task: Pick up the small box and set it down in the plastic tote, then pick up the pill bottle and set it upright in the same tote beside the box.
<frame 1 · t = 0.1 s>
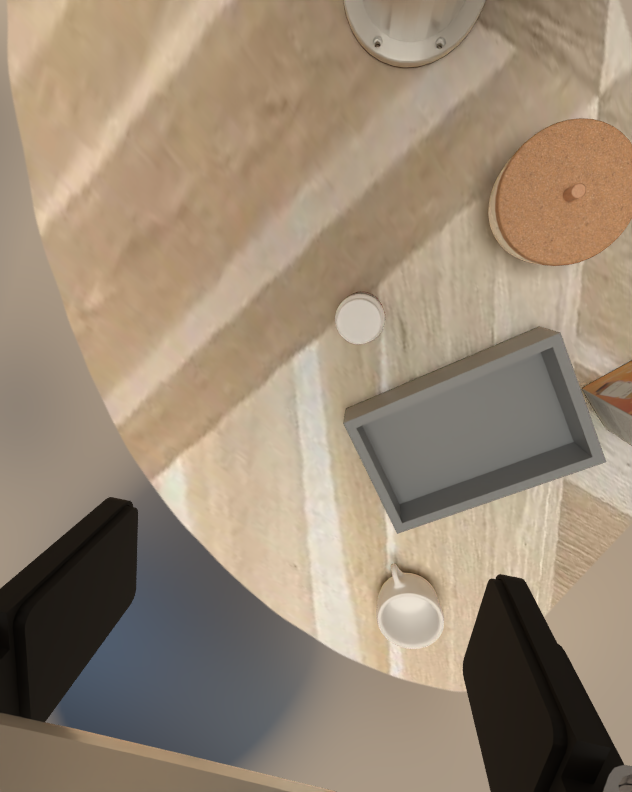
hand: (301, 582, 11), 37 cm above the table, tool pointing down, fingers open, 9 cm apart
teacup: (403, 580, 54), on the table
tote: (461, 425, 47), on the table
small box: (627, 388, 45), on the table
lidded jar: (531, 209, 41), on the table
pill bottle: (361, 313, 46), on the table
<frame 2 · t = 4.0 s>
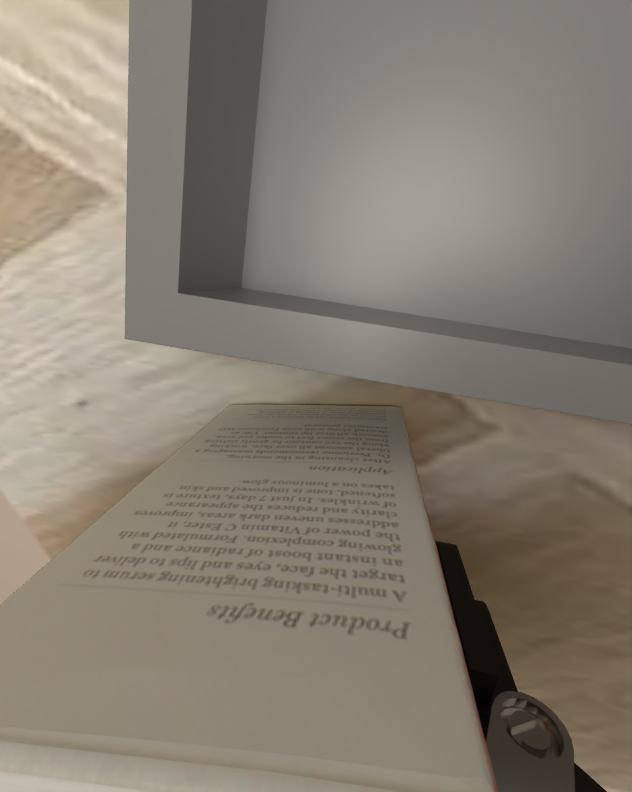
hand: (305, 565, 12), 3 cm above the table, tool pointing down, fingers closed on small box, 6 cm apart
small box: (317, 510, 14), on the table, touching gripper
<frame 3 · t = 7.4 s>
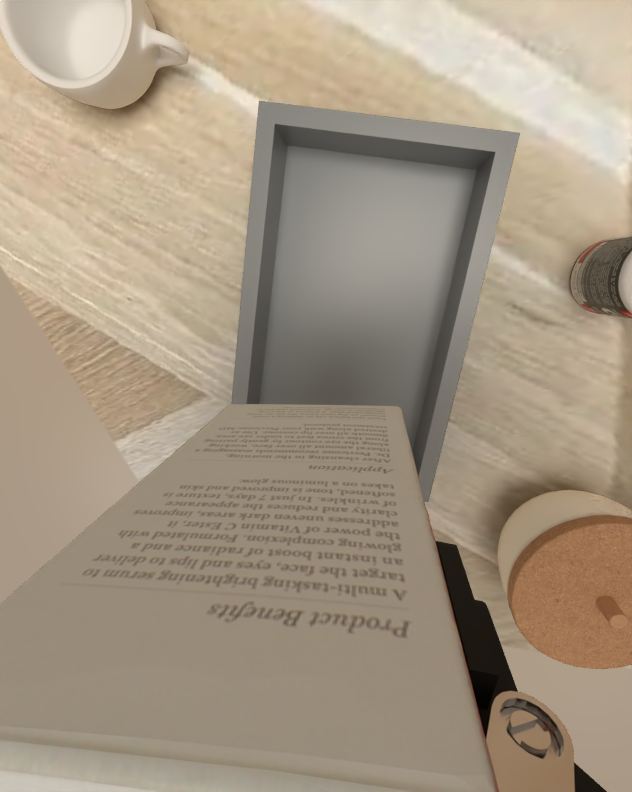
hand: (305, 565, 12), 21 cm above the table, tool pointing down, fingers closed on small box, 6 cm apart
teacup: (135, 62, 28), on the table
tote: (354, 314, 31), on the table
small box: (317, 510, 14), point 18 cm above the table, touching gripper
lidded jar: (550, 527, 33), on the table
pill bottle: (605, 276, 28), on the table
when the fingers open (5 cm above the table, at t = 10.7 s): small box drops 2 cm, resting on tote.
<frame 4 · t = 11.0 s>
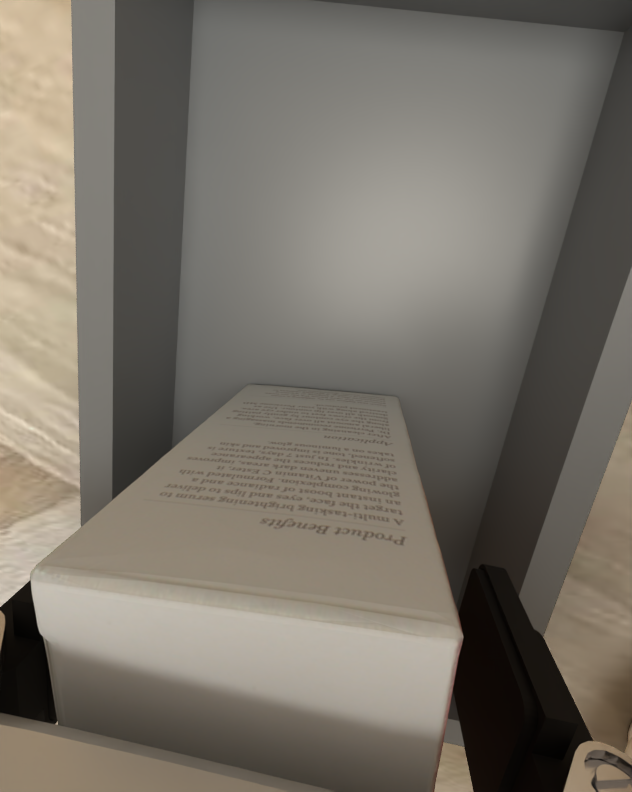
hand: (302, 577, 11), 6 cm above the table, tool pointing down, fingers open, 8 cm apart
tote: (345, 353, 16), on the table
small box: (317, 484, 16), point 1 cm above the table, touching tote
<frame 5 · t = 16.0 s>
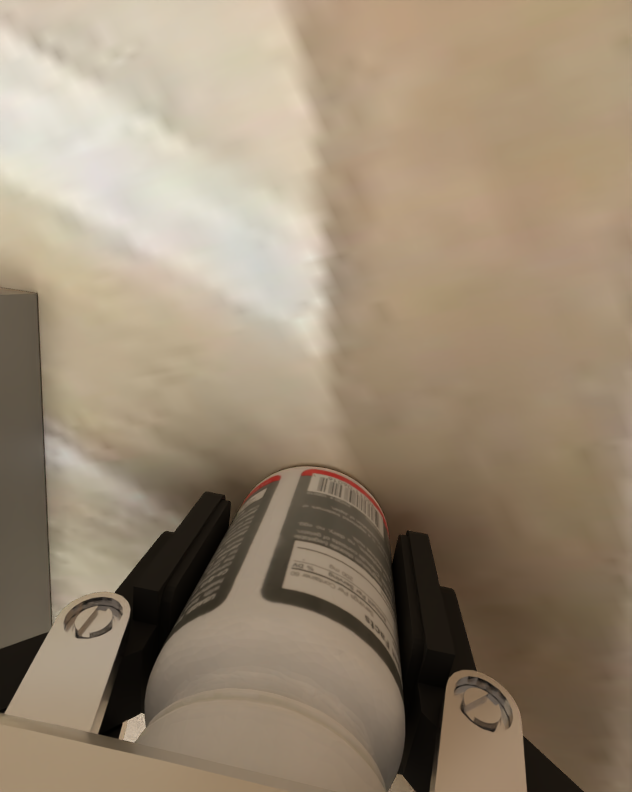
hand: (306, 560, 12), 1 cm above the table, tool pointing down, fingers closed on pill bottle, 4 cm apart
pill bottle: (314, 527, 13), on the table, touching gripper
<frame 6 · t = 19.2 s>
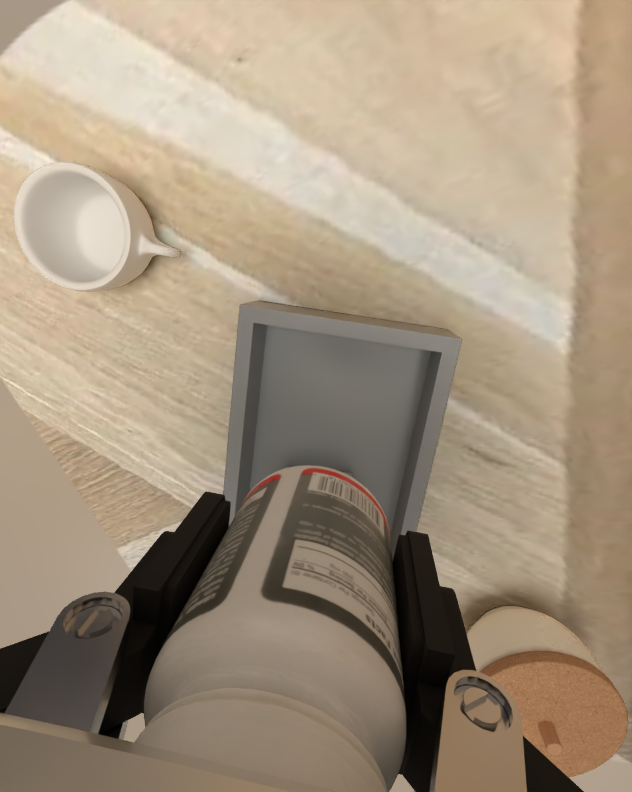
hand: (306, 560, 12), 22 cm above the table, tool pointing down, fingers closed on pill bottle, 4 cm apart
teacup: (135, 240, 32), on the table
tote: (329, 451, 34), on the table
lidded jar: (509, 632, 37), on the table
pill bottle: (314, 527, 13), point 20 cm above the table, touching gripper
when the fingers open (4 cm above the table, at t = 22.9 s): pill bottle drops 2 cm, resting on tote.
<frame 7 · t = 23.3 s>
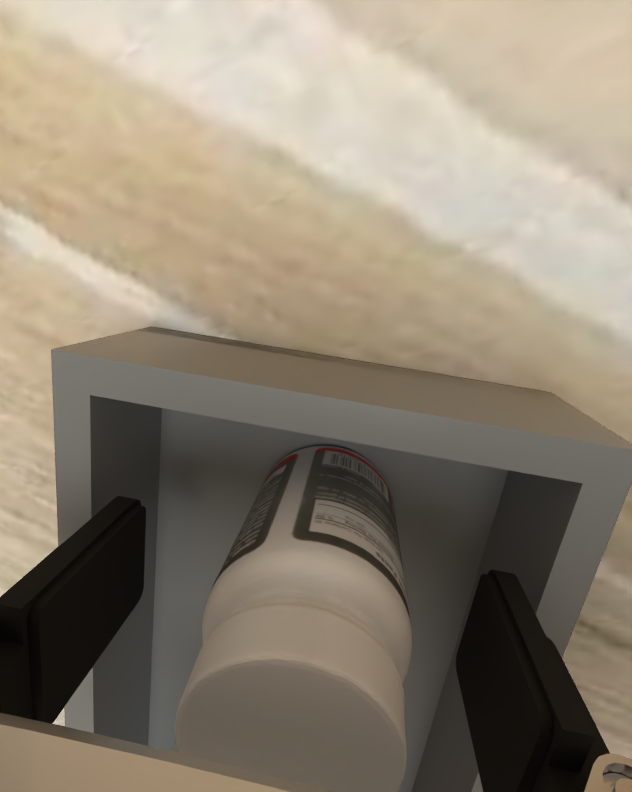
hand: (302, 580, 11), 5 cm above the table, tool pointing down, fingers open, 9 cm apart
tote: (301, 613, 18), on the table
pill bottle: (327, 501, 15), point 1 cm above the table, touching tote
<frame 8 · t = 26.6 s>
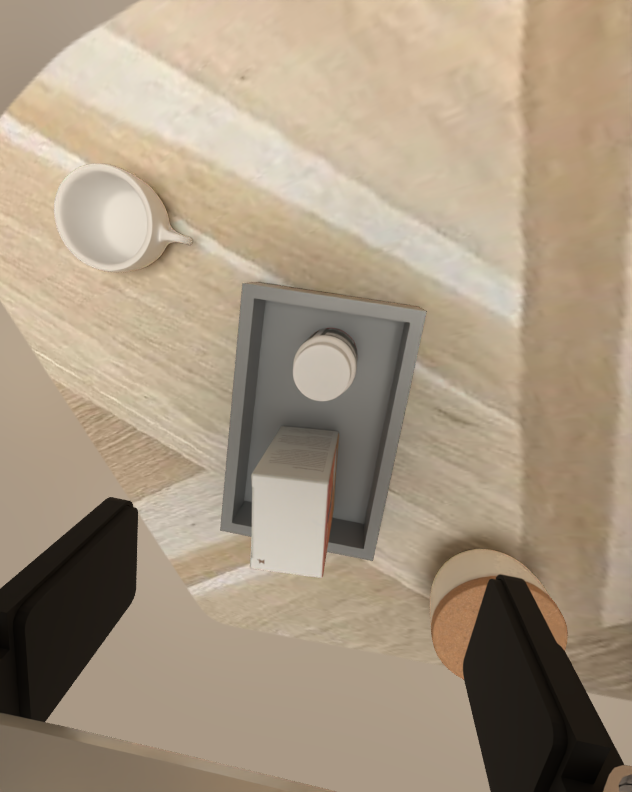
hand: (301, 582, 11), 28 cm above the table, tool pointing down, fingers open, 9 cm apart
teacup: (152, 230, 37), on the table
tote: (319, 413, 40), on the table
small box: (308, 465, 40), point 1 cm above the table, touching tote
lidded jar: (475, 574, 43), on the table
pill bottle: (331, 354, 37), point 1 cm above the table, touching tote
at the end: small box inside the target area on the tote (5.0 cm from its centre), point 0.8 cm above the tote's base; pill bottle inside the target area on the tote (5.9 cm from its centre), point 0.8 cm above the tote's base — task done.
